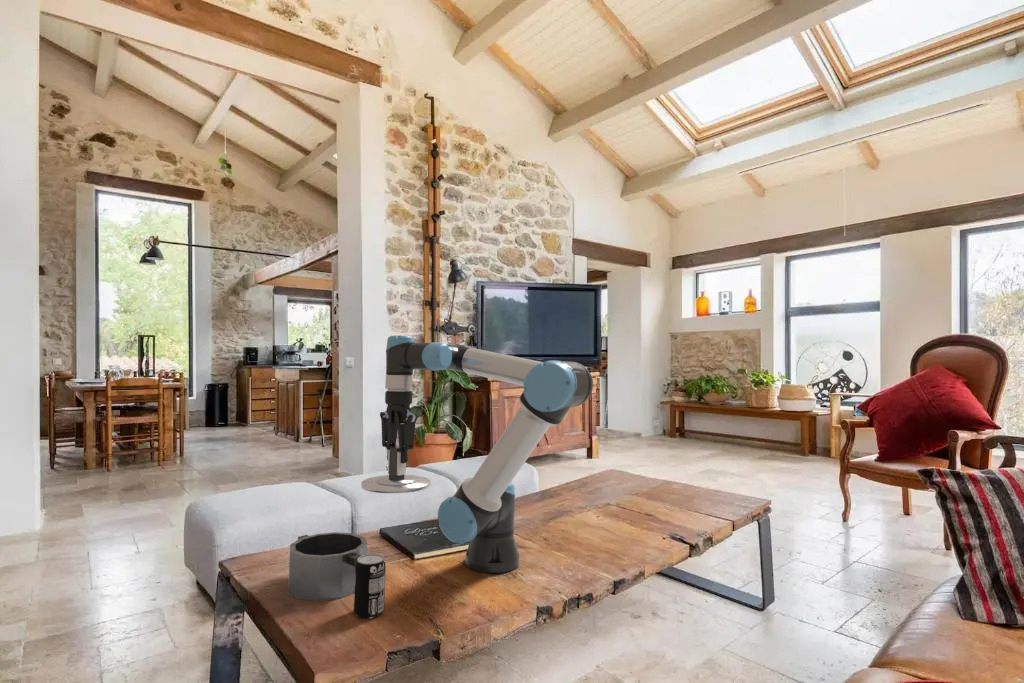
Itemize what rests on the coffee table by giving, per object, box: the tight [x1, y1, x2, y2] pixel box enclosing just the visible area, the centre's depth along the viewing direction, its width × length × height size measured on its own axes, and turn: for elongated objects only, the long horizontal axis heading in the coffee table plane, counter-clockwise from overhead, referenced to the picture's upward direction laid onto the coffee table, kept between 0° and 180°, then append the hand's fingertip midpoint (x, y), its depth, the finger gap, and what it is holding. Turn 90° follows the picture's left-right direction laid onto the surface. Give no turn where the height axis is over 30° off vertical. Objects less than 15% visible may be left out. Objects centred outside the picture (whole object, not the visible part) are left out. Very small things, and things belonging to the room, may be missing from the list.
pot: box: [287, 531, 368, 602], centre depth 135 cm, size 24×18×10 cm
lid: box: [360, 445, 432, 494], centre depth 152 cm, size 19×19×11 cm
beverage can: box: [353, 553, 386, 620], centre depth 121 cm, size 7×7×12 cm
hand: (396, 473), depth 152 cm, fingers closed on lid, 3 cm apart
